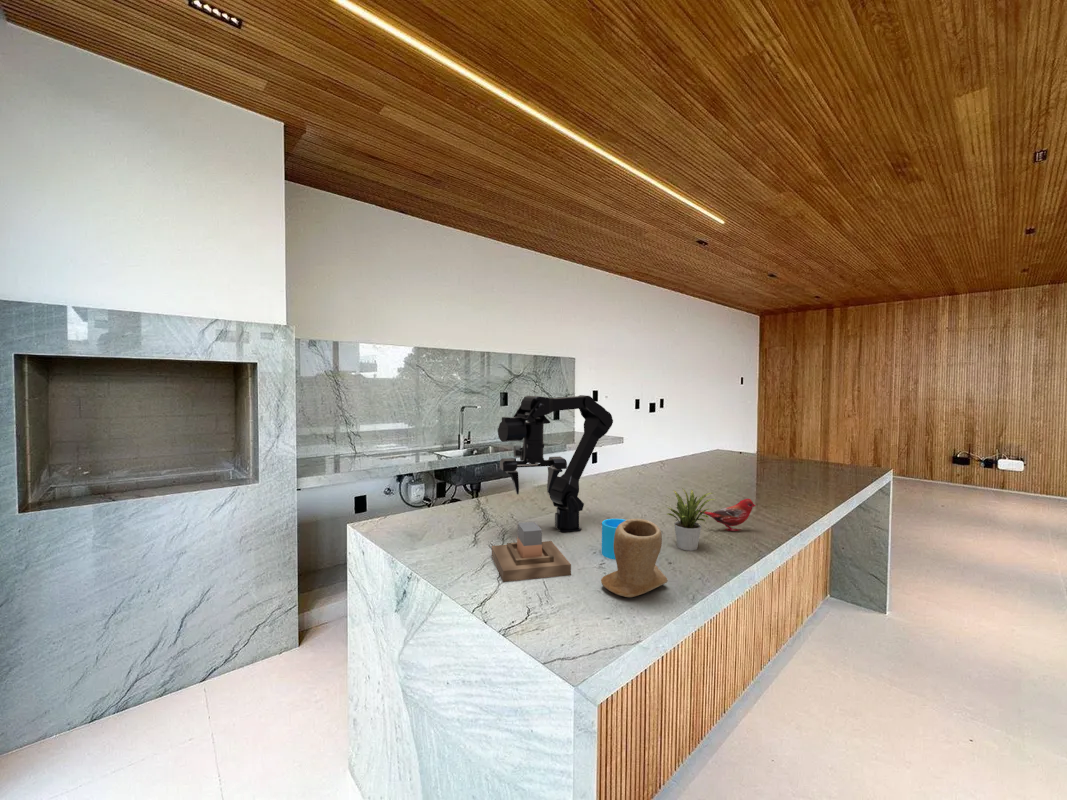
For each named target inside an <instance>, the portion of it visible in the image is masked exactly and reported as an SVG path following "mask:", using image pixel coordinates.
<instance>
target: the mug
mask: <svg viewBox="0 0 1067 800" xmlns="http://www.w3.org/2000/svg"><path fill="white" fill-rule="evenodd" d="M626 520H627V519H623V518H607V519H604V520H603V521H602V522H601V555H602V556H603V557H604V558H607V559H610V560H615V561H616V559H615V555H614V536H615V531H616V528H617V527H618V525H619V524H621V523H622V522H624V521H626Z"/></svg>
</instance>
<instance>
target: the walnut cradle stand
mask: <svg viewBox="0 0 1067 800" xmlns="http://www.w3.org/2000/svg"><path fill="white" fill-rule="evenodd" d="M491 557H492V560H493V561H494V564H495V566H496V569H497V571H498V573H499V576H500V578H501V580H502V582H503V583H505V582H514V581H515V582H516V581H526V580H534V579H535V580H536V579H546V578H553V577H555V578H556V577H563V576H571V575H572V564H571V563H570V561H569V560H568V559H567V558H566V557H565V556H564V554H563V552H561V550H560V549H559V548H558V547H557V546H556V545H555V544H554V542H553V541H552V540H547V541H546V540H545V541H542V556H541V557H530V558H522V557H521V556H520V554H519V552H518V551H517V541H516V542H507V543H506V544H499V545H491Z"/></svg>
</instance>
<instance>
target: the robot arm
mask: <svg viewBox="0 0 1067 800" xmlns="http://www.w3.org/2000/svg"><path fill="white" fill-rule="evenodd" d="M569 410H579V413H580V415H581V417H582V418H583V419H584V422H583V434H582V436H581V438H580V440H579V442H578V445H577V447H576V449H575V451H574V453H573V455H572V457H571V459H570V461H569V463H567V460H566V459H565V458H564V457H562V456H549V457H548V459H545V458H544V448H545V444H544V434H545V433H544V427H545V425H546V424H551V421H550V420H549V419H548V418H547V417H546V416H547V415H549V414H551V413H553V412H557V411H558V412H560V411H569ZM613 423H614V419H613V415H612V414H611V413H610V412H609V411H607V410H606V409H605V407H603V406H602V405H601V404H599V403H598V402H597V401H596V400H595V399H594V398H593V397H592V396H590V395H585V394H584V395H583V394H581V395H580V394H579V395H577V396H575V395H574V396H563V397H545V396H537V395H525V396H524V397H523V399H522V400H521V403H520V405H519V408H518V409H517V410H516V412H515V414H514V415H513V416H512V417H508V416H502V417H501V421H500V423H498V427H497V436H498V438H499V440H500V442H503V443H504V442H505V443H506V442H518V441H522V447H521V445H514V446H513V457H507V458H506V457H504V458H500V460H499V469H500V470H501V471H503V472H505V473H506V474H507V475H510V478H511V480H512V484H513V487H514V489H515V492H516V495H517V496H518V495H519V494H520V485H519V484H520V483H519V481H520V480H519V471H517V469H518V468H540V467H547V472H548V473H547V482H546V483H547V484H546V492H547V493H548V496H549V498H550V500H551V502H552V505H553V507H556V512H555V513H554V527H555V528H556V529H557V530H558V531H559V532H560V533H565V532H566V533H567V532H569V533H570V532H581V530H582V528H581V527H580V512H583V510H584V507H585V506H584V505H585V503H584V502H583V501H582V500H581V499H580V498H579V497H578V496H579V493H580V479H581V477H582V476H583V473H584V471H585V469H586V467H587V466H588V465H587V464H588V463H589V460H590V458H591V456H592V454H593V452H594V450H595V448H596V446H597V444H598V441H599V440H600V439H601V438H602V437H604V436H605V435H606V434H607V433H608V432H609V430H610V429H611V428H612V426H613ZM516 458H519V460H517V459H516ZM563 470H565V471H564V473H563V474H562V475H561V476H559V474H560V473H562V472H563Z"/></svg>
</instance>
